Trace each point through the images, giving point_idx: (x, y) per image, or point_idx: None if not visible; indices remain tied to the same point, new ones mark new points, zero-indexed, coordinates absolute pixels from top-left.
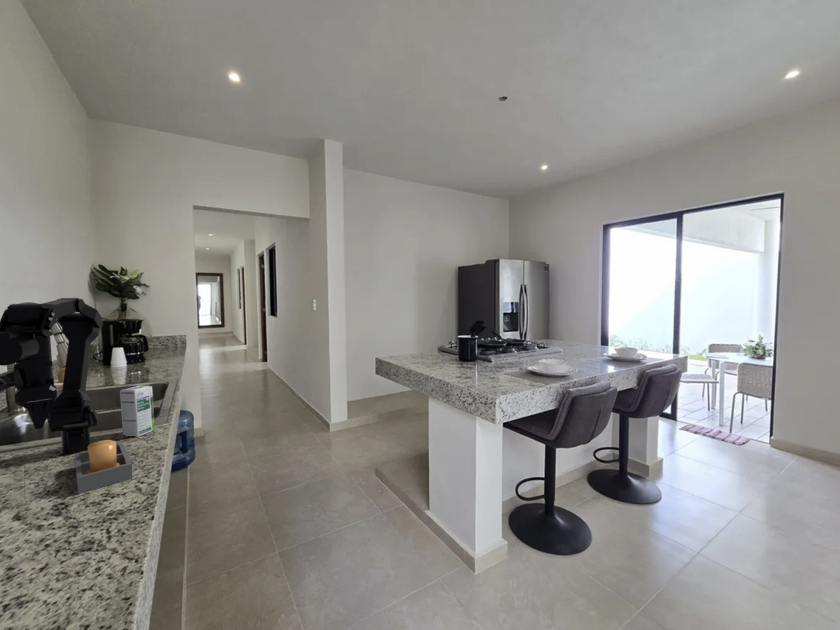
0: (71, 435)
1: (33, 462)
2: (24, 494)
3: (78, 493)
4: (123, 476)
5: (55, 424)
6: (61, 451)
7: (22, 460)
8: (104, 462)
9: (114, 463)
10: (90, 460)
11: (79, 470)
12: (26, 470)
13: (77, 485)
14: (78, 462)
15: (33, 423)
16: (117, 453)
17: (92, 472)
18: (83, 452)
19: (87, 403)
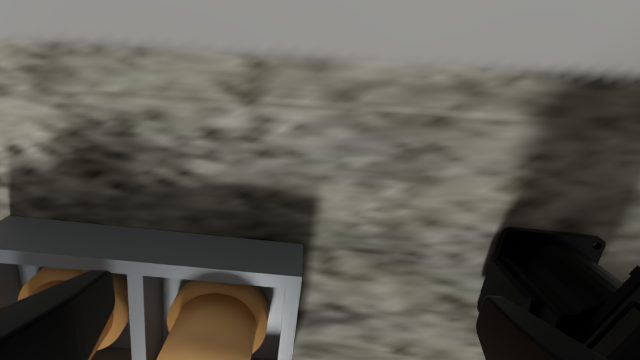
0: (539, 309)
1: (529, 149)
2: (153, 94)
3: (9, 217)
4: None
5: (621, 314)
6: (541, 236)
7: (606, 122)
8: None
9: None
10: None
11: (48, 261)
12: (446, 122)
13: (35, 227)
14: (163, 271)
15: (21, 299)
16: (276, 358)
17: (44, 283)
18: (290, 300)
19: None
